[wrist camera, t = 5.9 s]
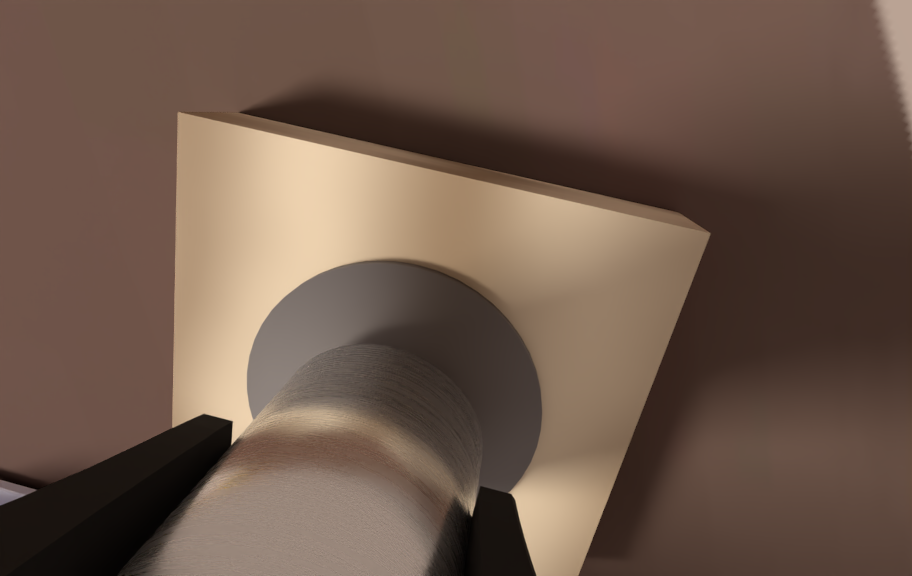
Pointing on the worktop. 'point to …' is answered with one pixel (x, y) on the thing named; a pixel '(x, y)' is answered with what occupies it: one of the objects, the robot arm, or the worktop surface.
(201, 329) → the stand
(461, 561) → the cylinder
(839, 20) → the worktop surface
